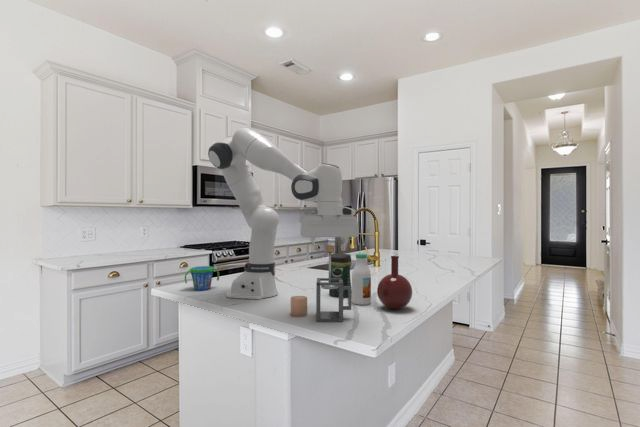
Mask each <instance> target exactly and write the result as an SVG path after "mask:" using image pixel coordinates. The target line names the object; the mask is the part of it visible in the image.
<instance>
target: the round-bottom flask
mask: <svg viewBox="0 0 640 427" xmlns="http://www.w3.org/2000/svg"><path fill="white" fill-rule="evenodd" d="M399 258H400V256H398V255H390V259H391V271H390V272H391V273H390V274H387V275H385V276H383V277H382V278H381V279H380V280H379V283H378V285H377V288H376V293H377V296H378V300H379V302H380V303H381V304H382V305H383V306H384V307H386V308H388V309H390V310H391V309H392V310H399V309H402V308H405V307H406V306H407V305H408V304H409V303H410V302H411V300H412V297H413V287H412V284H411V283H410V281H409V280H408V278H406V277H405V276H403V275H402V274H399Z"/></svg>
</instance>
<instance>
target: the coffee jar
mask: <svg viewBox="0 0 640 427" xmlns="http://www.w3.org/2000/svg"><path fill="white" fill-rule="evenodd" d="M351 266H352V256H351V254H350V253H338V252H337V253H336V252H335V253H331V278H342V280H343V286H351V287H352V279H351ZM331 282H338V283H339V281H331ZM328 290H329V291H328V292H329V294H328V295H329V296H332V297H337V298H339V285H338V288H337V289H328ZM351 295H352V289H351ZM346 297H347V298H348V290H343V298H346Z"/></svg>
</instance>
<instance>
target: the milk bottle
mask: <svg viewBox="0 0 640 427" xmlns="http://www.w3.org/2000/svg"><path fill="white" fill-rule="evenodd" d="M355 260H356V262H355V265H354V267H353V269H352V272H351V290H352V294H351V304H353V305H357V306H368V305H370V304H371V302H372V300H371V299H372V274H371V271H370V270H371V269H370V267H369V266H368V261H367V260H368V254H367V253H365V252H364V253H362V252H361V253H356V254H355Z"/></svg>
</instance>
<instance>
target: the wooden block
mask: <svg viewBox="0 0 640 427" xmlns="http://www.w3.org/2000/svg"><path fill="white" fill-rule="evenodd" d="M290 316H291V317H295V318H299V317H301V318H302V317H305V316H308V296H306V295H305V296H303V295H293V296H290Z"/></svg>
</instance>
